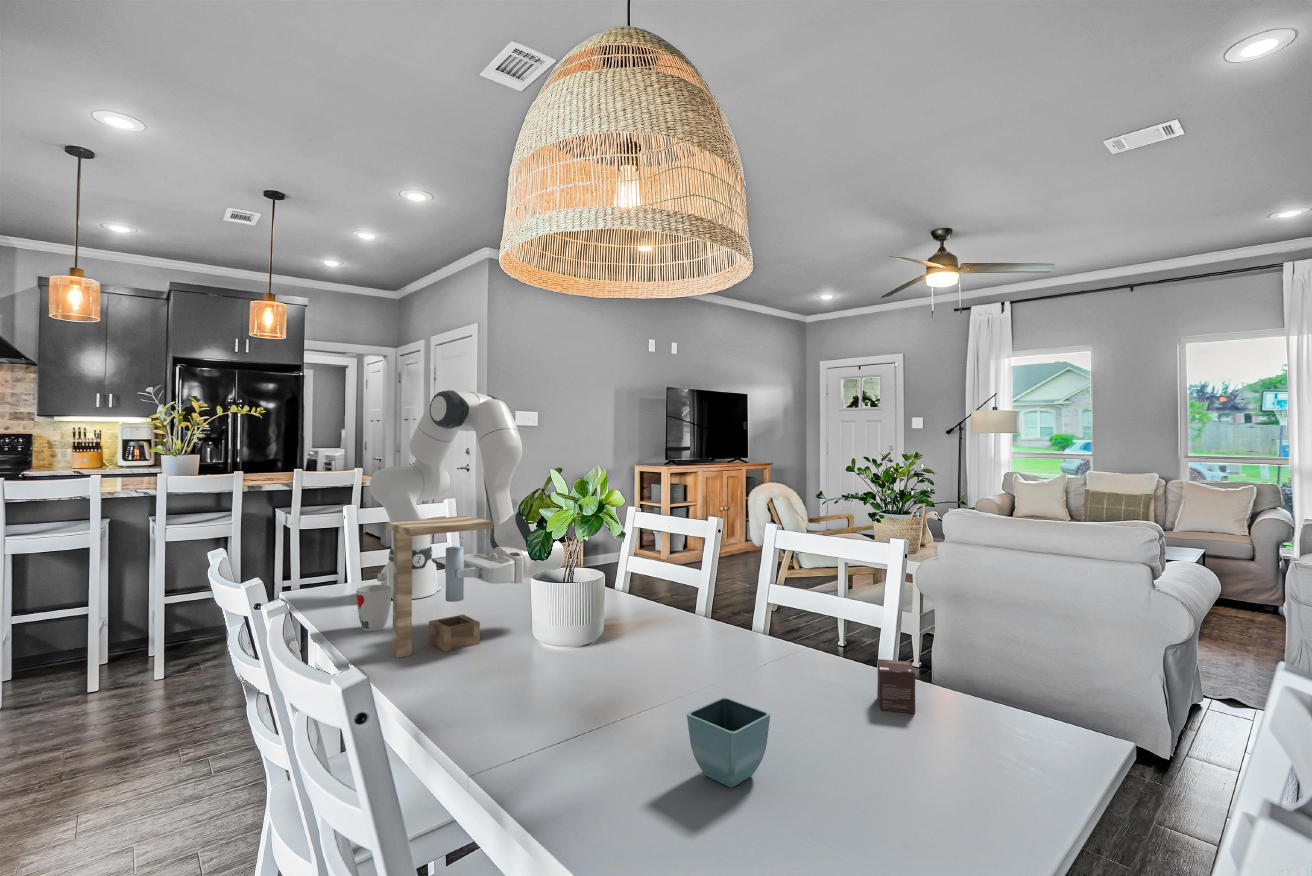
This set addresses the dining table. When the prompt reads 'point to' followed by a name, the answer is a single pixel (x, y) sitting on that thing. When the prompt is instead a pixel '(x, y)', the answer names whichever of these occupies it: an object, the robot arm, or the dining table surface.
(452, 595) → the peg
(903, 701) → the box
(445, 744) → the dining table surface
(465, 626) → the socket block
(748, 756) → the flower pot
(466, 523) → the wooden l-shaped post
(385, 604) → the cup
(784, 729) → the dining table surface
